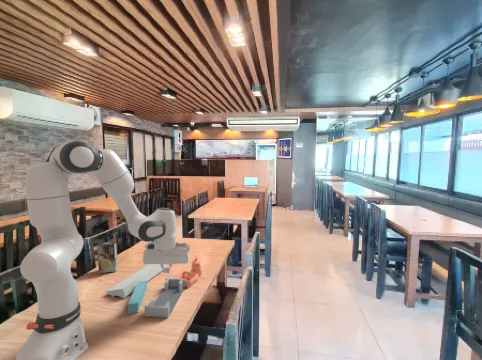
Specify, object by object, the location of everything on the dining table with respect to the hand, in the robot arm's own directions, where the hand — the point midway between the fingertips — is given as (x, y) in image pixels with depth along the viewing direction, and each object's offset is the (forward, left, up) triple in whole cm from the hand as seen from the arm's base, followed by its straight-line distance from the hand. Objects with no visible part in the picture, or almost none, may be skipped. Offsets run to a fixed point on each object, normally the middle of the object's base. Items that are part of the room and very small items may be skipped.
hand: (166, 272), depth 114 cm
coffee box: (+29, +46, -14) cm, 56 cm away
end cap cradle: (0, 0, -14) cm, 14 cm away
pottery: (+22, -5, -14) cm, 27 cm away
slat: (-1, +14, -14) cm, 20 cm away
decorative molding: (+19, +27, -14) cm, 36 cm away
